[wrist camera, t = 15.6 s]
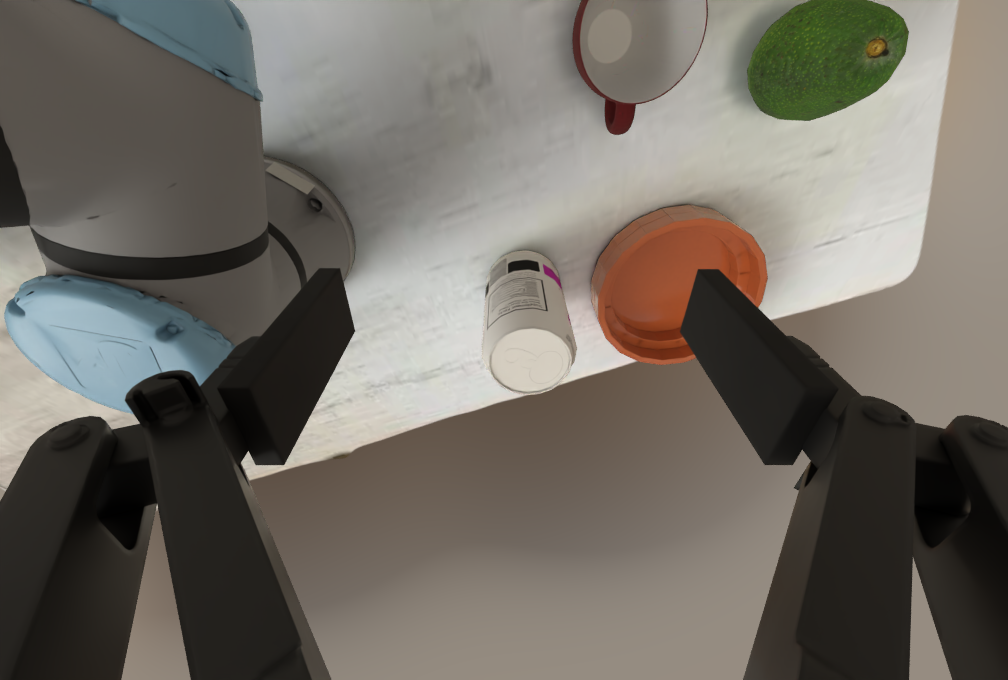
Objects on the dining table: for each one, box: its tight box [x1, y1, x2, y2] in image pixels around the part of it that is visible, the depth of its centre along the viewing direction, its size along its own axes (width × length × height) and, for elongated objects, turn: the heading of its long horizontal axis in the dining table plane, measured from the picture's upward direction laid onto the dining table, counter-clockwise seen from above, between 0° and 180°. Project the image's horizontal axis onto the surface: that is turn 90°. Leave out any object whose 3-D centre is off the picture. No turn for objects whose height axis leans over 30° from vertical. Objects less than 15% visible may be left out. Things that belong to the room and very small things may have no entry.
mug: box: [572, 0, 708, 135], centre depth 31 cm, size 10×8×10 cm
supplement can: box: [482, 250, 577, 395], centre depth 41 cm, size 8×8×15 cm
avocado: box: [747, 0, 909, 121], centre depth 31 cm, size 8×8×12 cm
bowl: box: [591, 205, 768, 365], centre depth 45 cm, size 17×17×4 cm
